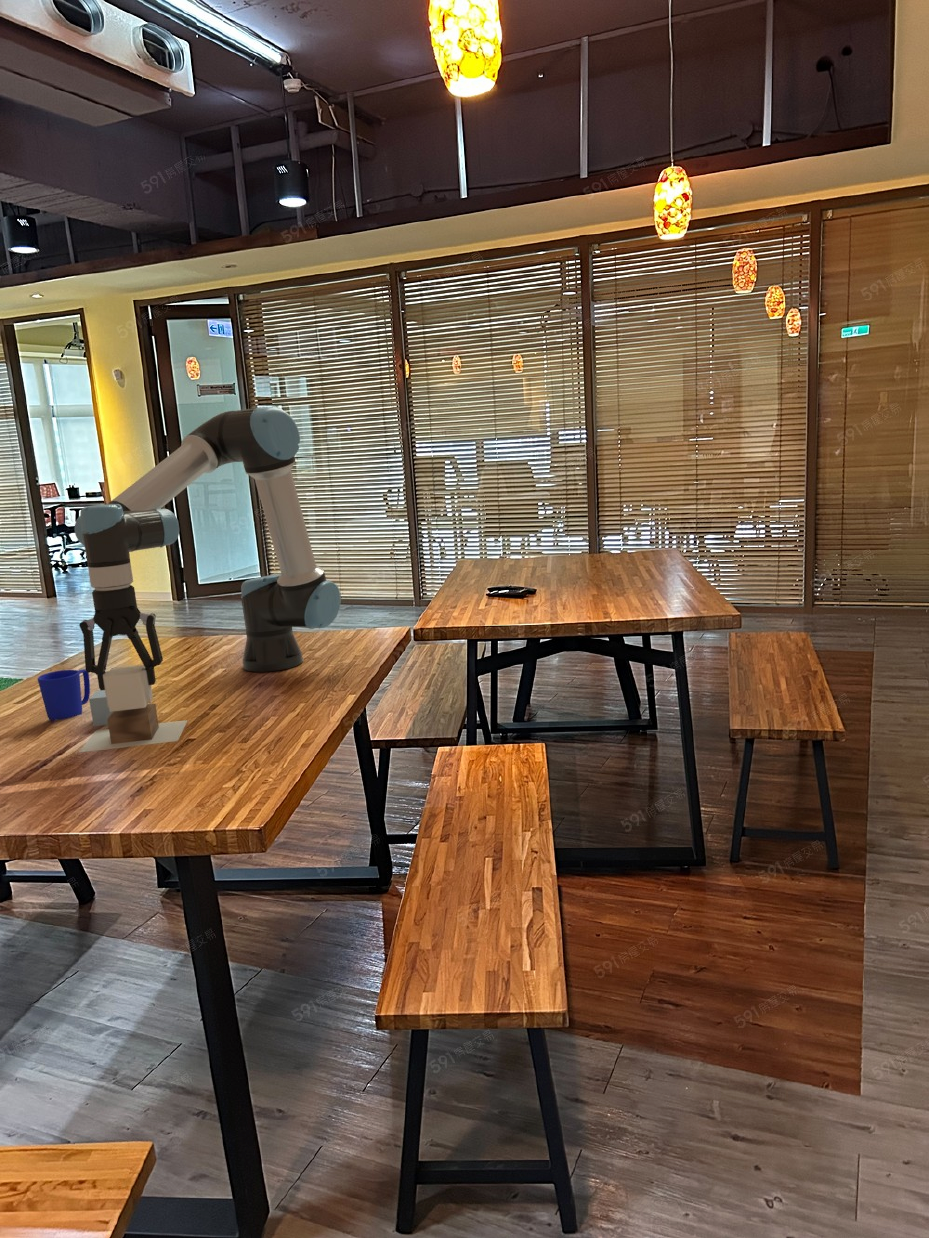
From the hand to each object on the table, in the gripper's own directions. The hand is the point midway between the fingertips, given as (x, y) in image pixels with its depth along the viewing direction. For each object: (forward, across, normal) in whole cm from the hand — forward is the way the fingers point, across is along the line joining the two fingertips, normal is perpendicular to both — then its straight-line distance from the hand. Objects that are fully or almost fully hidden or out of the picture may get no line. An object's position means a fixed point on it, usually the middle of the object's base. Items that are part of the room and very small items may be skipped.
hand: (130, 702), depth 167 cm
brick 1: (+8, +7, -13) cm, 17 cm away
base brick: (+7, 0, 0) cm, 7 cm away
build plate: (+8, 0, 0) cm, 8 cm away
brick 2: (0, 0, 0) cm, 0 cm away
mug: (+8, +18, -23) cm, 30 cm away
